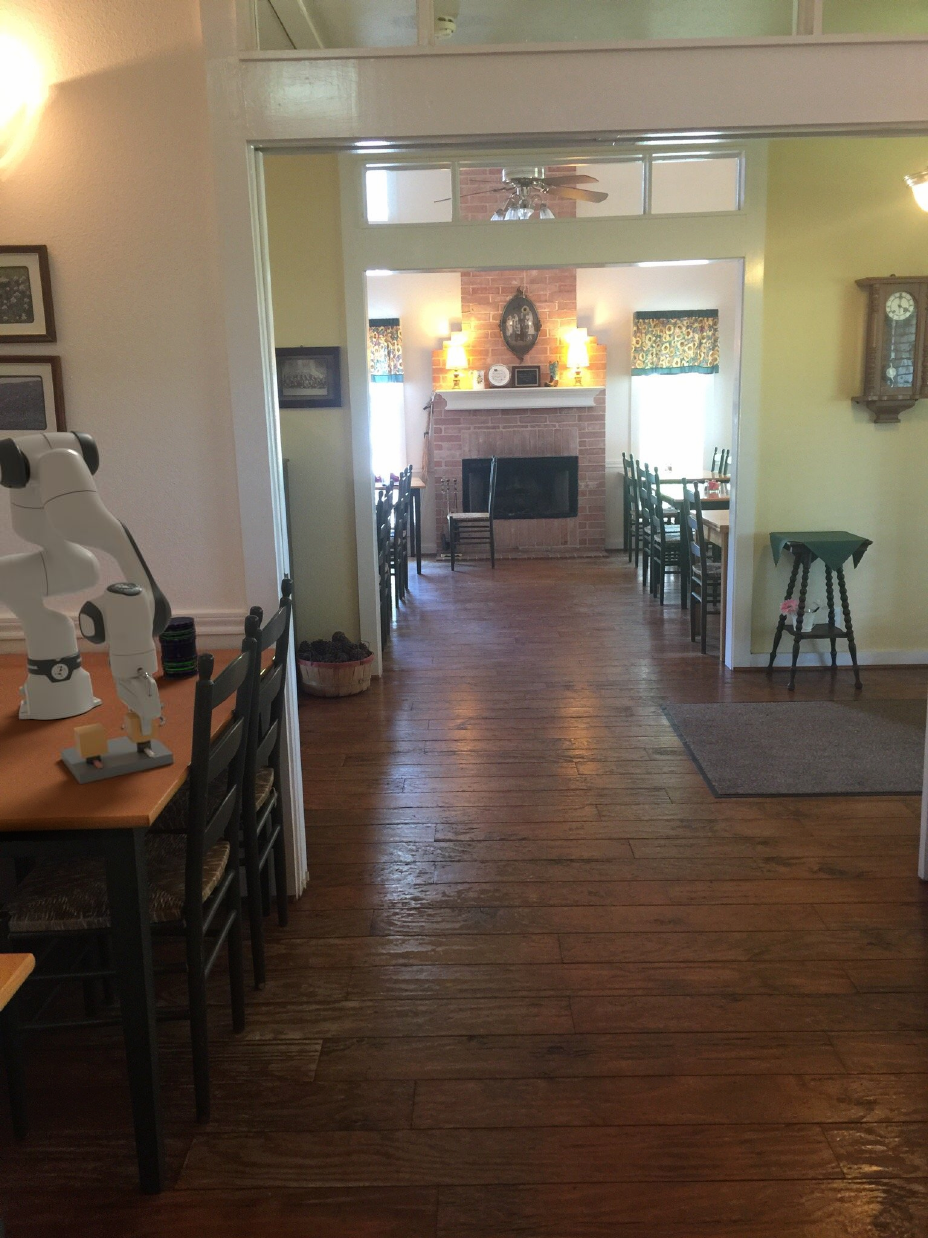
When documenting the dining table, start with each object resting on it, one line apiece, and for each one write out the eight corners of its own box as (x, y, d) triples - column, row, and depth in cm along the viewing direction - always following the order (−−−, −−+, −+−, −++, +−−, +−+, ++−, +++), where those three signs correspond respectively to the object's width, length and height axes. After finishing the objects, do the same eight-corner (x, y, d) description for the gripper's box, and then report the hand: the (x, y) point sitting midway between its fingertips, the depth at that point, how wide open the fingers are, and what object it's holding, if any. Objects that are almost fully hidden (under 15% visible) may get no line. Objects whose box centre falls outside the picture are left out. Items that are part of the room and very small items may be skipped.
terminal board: (61, 759, 203) (56, 718, 201) (149, 740, 213) (144, 701, 211) (80, 784, 188) (74, 740, 186) (173, 763, 198) (169, 721, 196)
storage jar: (202, 668, 273) (196, 615, 270) (197, 677, 263) (192, 623, 260) (165, 671, 272) (159, 618, 269) (159, 680, 262) (153, 625, 259)
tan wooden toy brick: (151, 732, 203) (148, 708, 202) (158, 738, 199) (155, 714, 198) (126, 737, 200) (124, 713, 199) (133, 743, 196) (130, 719, 195)
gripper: (164, 671, 189) (172, 739, 192) (136, 652, 206) (144, 715, 209) (131, 677, 186) (140, 746, 189) (105, 657, 203) (113, 721, 206)
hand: (142, 730), depth 199 cm, fingers closed on tan wooden toy brick, 5 cm apart
